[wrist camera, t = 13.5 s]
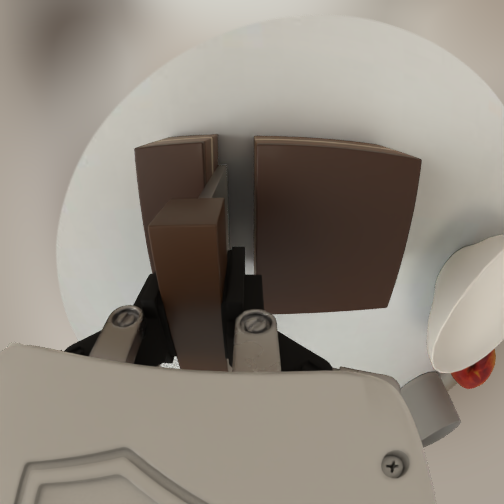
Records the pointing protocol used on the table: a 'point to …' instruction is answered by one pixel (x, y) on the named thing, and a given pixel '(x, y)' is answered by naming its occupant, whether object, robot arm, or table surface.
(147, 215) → the cake slice
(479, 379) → the fruit
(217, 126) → the table surface
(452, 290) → the bowl
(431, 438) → the cup
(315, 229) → the cake
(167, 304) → the knife
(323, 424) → the robot arm
